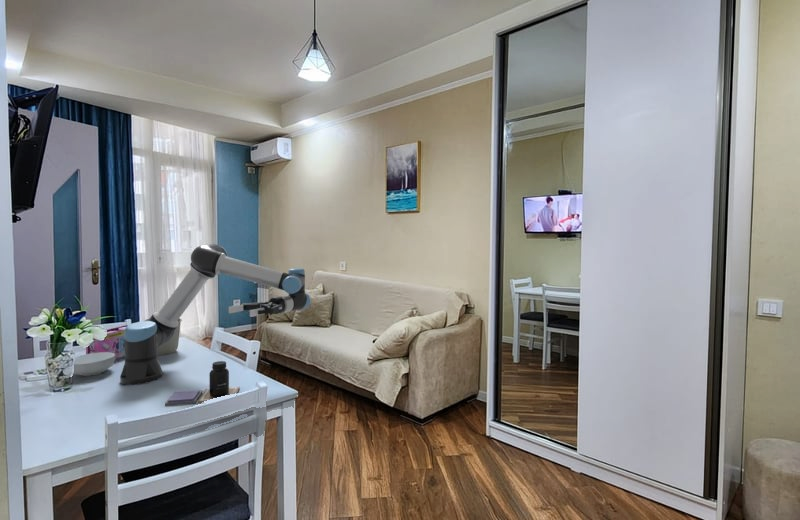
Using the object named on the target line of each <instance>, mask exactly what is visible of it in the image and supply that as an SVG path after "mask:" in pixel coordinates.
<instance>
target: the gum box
mask: <svg viewBox="0 0 800 520" xmlns="http://www.w3.org/2000/svg"><path fill="white" fill-rule="evenodd" d="M128 325H129V324H128ZM128 325H127V324H125V325H121V326H117V327H113V328H109V329H106V330H107V332H108V333H107V336H106V337H105V339H104V340H103V341H98V340H94V341H93V342H92V344H90V345H89V346H88V347H86V346H85V354H91V353H100V352H110V353H114V354H115V360H116V359H119V358H122V357H125V351H124V329H125V328H126V327H127V326H128Z"/></svg>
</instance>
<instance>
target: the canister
mask: <svg viewBox="0 0 800 520" xmlns="http://www.w3.org/2000/svg"><path fill="white" fill-rule="evenodd" d="M149 319H150V317H149V318H146V319H144V321H148V320H149ZM182 321H183V319H182V318H181V317H180V318H179V319H178V327H177V328H176V329H175V333H174V335H173V337H172V338H171V339H170V340H169V341H167V342H166V343H164V344H162V345H160V346H158V347H157V356H163V355H164V356H165V355H169V354H173V353H174V352H176V351H178V350H177V349H178V348H179V341H180V332H181V322H182Z"/></svg>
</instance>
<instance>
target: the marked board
mask: <svg viewBox="0 0 800 520" xmlns="http://www.w3.org/2000/svg"><path fill="white" fill-rule="evenodd" d="M239 391H240V386H232V387H231V386H230V387H229V393H228V394H227V395H230V394H235V393H237V394H238V393H239ZM224 396H225V395H224ZM220 397H221V396H220ZM213 398H217V397H213V396H211V395H210V392H209V388H205V390H204V391H203V392H202V395H201V396H200V397H199V399H198V400H197V402H196V403H197V404H198V403H201V404H203V403H202V402H204V401H207V400H210V399H213ZM198 405H199V404H198Z"/></svg>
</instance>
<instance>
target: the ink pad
mask: <svg viewBox="0 0 800 520" xmlns="http://www.w3.org/2000/svg"><path fill="white" fill-rule="evenodd" d="M202 394H203V390H200V389H197V390H196V389H195V390H181V391H174V392H173V393H172V394H171V395H170V397H169V398H168V399H167V400H166V401H165V403H164V406H165V407H166V406H179V405H180V406H181V405H195V404H196V403H197V401H198V400H199V399H200V397H201V396H202Z"/></svg>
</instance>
